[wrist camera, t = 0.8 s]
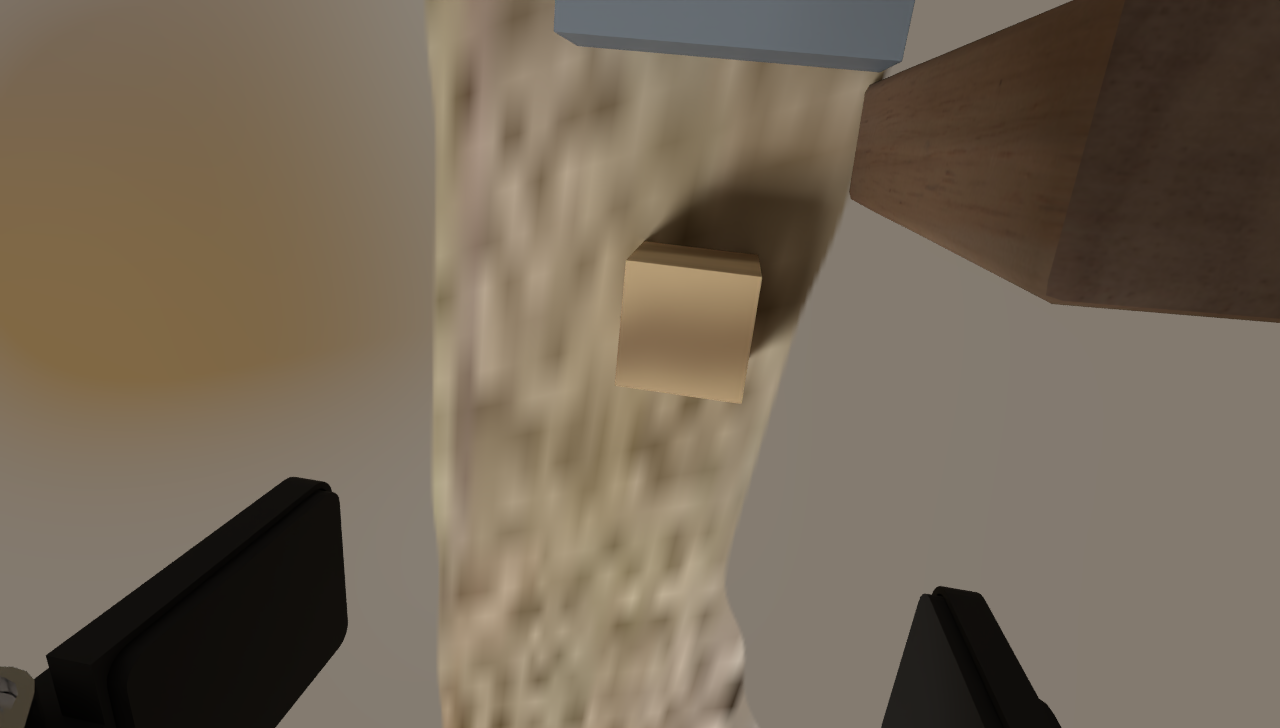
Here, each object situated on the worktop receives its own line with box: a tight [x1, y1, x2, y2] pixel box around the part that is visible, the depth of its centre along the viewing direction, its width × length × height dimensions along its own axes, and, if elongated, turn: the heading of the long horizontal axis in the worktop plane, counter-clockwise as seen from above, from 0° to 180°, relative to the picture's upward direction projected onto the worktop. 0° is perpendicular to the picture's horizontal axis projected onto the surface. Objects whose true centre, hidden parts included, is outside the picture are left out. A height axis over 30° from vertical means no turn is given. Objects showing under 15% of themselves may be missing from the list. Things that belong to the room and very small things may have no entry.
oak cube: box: [615, 241, 762, 404], centre depth 26 cm, size 5×5×5 cm
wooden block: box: [849, 0, 1280, 323], centre depth 17 cm, size 9×4×18 cm, turn 87°
